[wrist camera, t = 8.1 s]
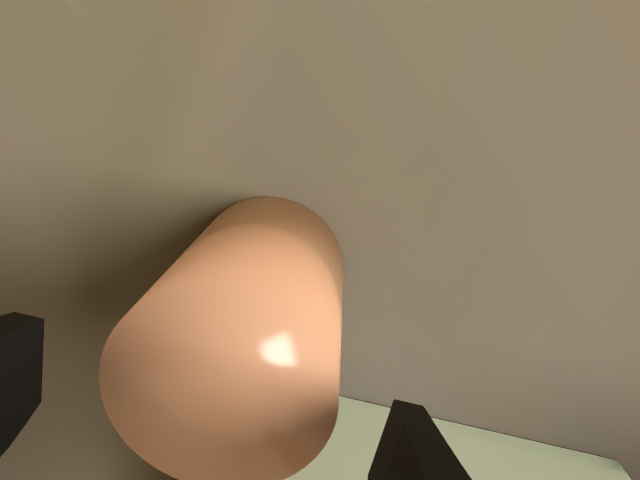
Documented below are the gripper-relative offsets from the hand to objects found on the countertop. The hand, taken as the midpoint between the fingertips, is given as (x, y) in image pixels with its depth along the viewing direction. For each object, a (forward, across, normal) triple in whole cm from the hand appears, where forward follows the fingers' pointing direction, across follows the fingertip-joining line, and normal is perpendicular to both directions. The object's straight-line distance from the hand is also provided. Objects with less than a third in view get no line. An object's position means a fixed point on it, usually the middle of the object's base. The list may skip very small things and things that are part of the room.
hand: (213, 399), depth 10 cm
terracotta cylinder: (+7, 0, 0) cm, 7 cm away
